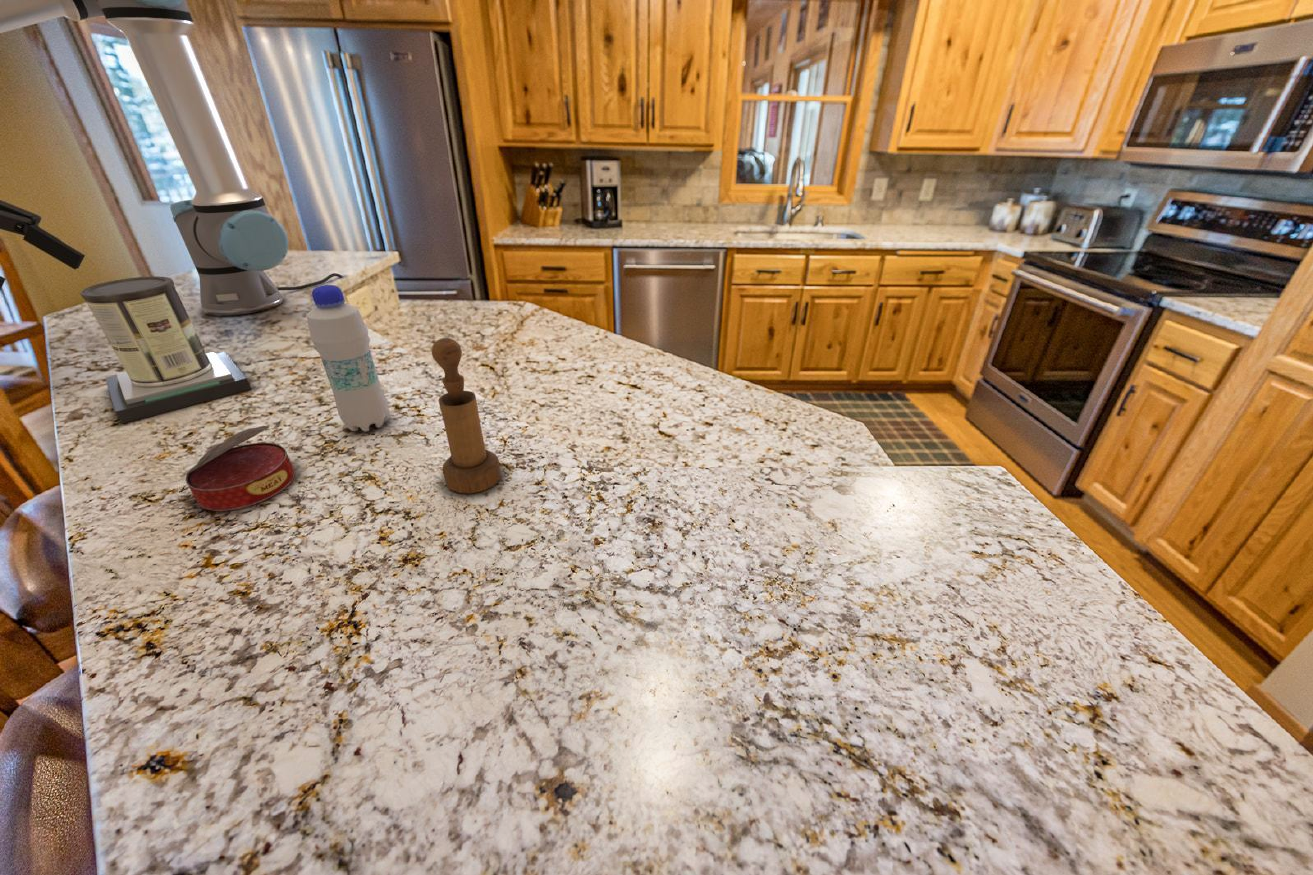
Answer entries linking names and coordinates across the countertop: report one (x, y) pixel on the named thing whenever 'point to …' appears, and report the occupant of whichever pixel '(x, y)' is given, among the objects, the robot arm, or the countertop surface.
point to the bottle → (347, 359)
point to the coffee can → (148, 330)
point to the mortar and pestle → (463, 428)
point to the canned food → (239, 473)
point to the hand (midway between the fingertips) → (43, 274)
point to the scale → (176, 390)
